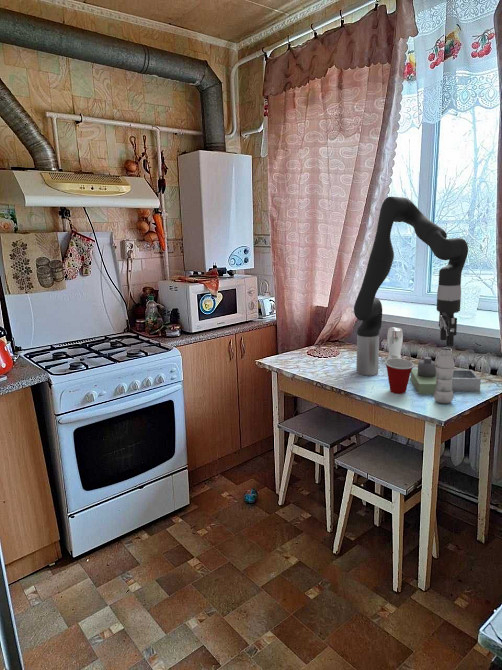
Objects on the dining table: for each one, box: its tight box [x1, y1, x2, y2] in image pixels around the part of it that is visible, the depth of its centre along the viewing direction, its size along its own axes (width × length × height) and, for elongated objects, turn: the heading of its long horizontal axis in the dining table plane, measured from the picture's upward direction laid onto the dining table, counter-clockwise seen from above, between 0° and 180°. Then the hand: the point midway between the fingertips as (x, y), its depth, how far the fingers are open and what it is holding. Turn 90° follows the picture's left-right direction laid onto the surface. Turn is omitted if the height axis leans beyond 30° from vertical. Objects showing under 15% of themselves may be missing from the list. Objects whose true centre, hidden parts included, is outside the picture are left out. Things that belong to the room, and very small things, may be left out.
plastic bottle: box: [432, 347, 456, 405], centre depth 165 cm, size 6×7×20 cm
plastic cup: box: [384, 358, 415, 395], centre depth 178 cm, size 11×11×12 cm
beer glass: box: [386, 327, 404, 359], centre depth 217 cm, size 7×7×15 cm
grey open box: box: [452, 369, 482, 392], centre depth 181 cm, size 11×11×5 cm
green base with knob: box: [409, 356, 436, 395], centre depth 182 cm, size 12×18×11 cm, turn 171°
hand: (446, 343), depth 162 cm, fingers open, 8 cm apart
